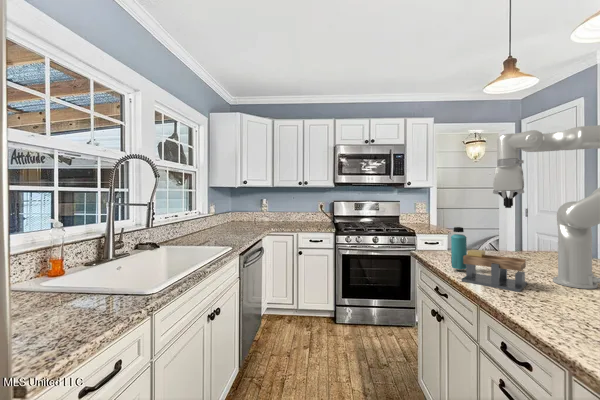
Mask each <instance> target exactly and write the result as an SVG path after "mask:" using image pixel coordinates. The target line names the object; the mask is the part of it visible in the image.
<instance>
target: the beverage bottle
mask: <svg viewBox="0 0 600 400" xmlns="http://www.w3.org/2000/svg"><path fill="white" fill-rule="evenodd" d="M453 232H454V233H456V234H452V235H451V236H450V238H451V240H450V241H451V242H450V243H451V244H450V245H451V249H450V251H451V252H450V255H451V256H450V262H451V268H452V269H456V270H466V264H463V256H465V255H467V254H468V250H467V245H468V244H467V238H468V237H467V236H466V235H465V234H460V233H464V232H465V231H464V227H462V226H454V227H453ZM458 233H459V234H458Z"/></svg>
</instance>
